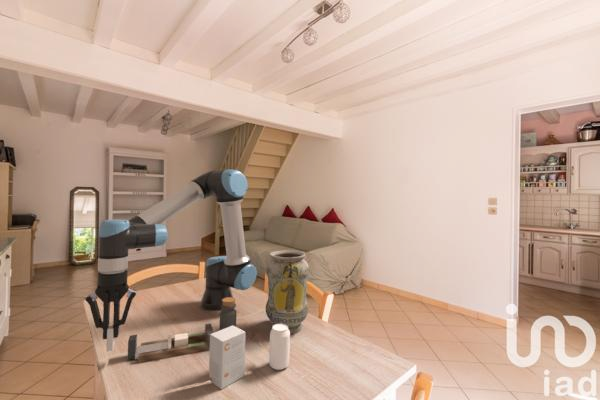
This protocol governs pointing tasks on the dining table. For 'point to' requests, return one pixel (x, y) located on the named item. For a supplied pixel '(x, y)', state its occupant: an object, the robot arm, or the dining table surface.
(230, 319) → the bottle
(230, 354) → the small box
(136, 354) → the grey sliding carriage
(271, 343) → the beverage can
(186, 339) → the cream cube
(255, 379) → the dining table surface
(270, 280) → the vase
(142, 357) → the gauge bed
